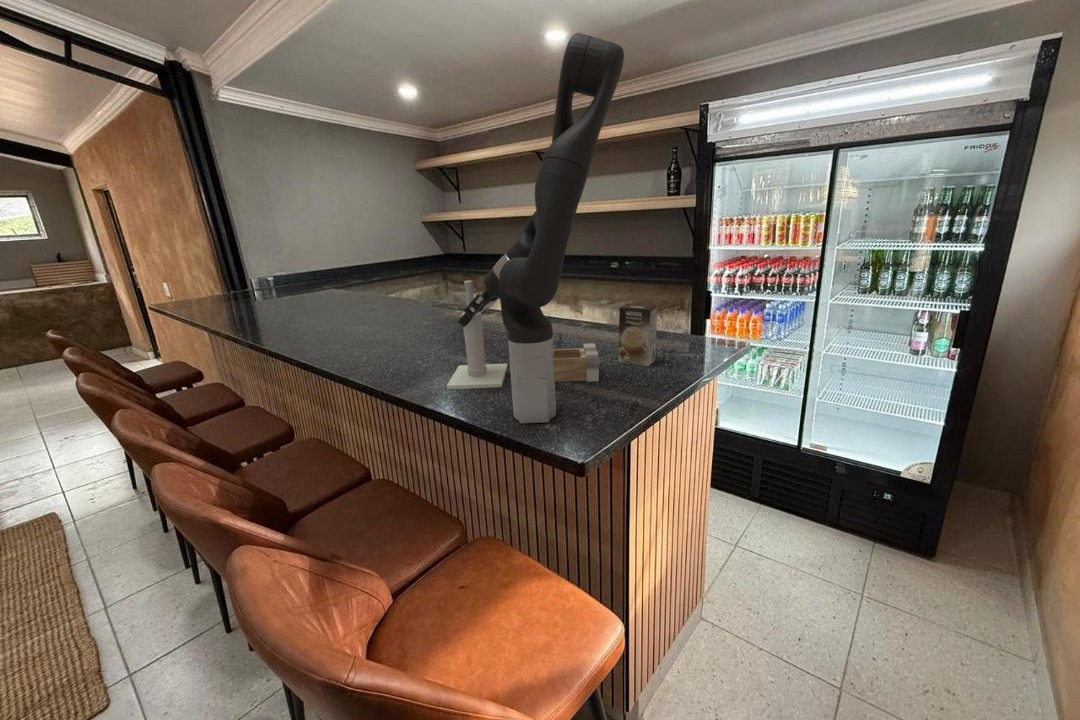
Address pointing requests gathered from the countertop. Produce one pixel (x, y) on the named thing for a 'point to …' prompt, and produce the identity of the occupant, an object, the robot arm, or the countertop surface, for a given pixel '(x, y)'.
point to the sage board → (489, 380)
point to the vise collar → (576, 364)
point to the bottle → (474, 338)
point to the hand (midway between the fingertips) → (468, 320)
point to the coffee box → (637, 334)
